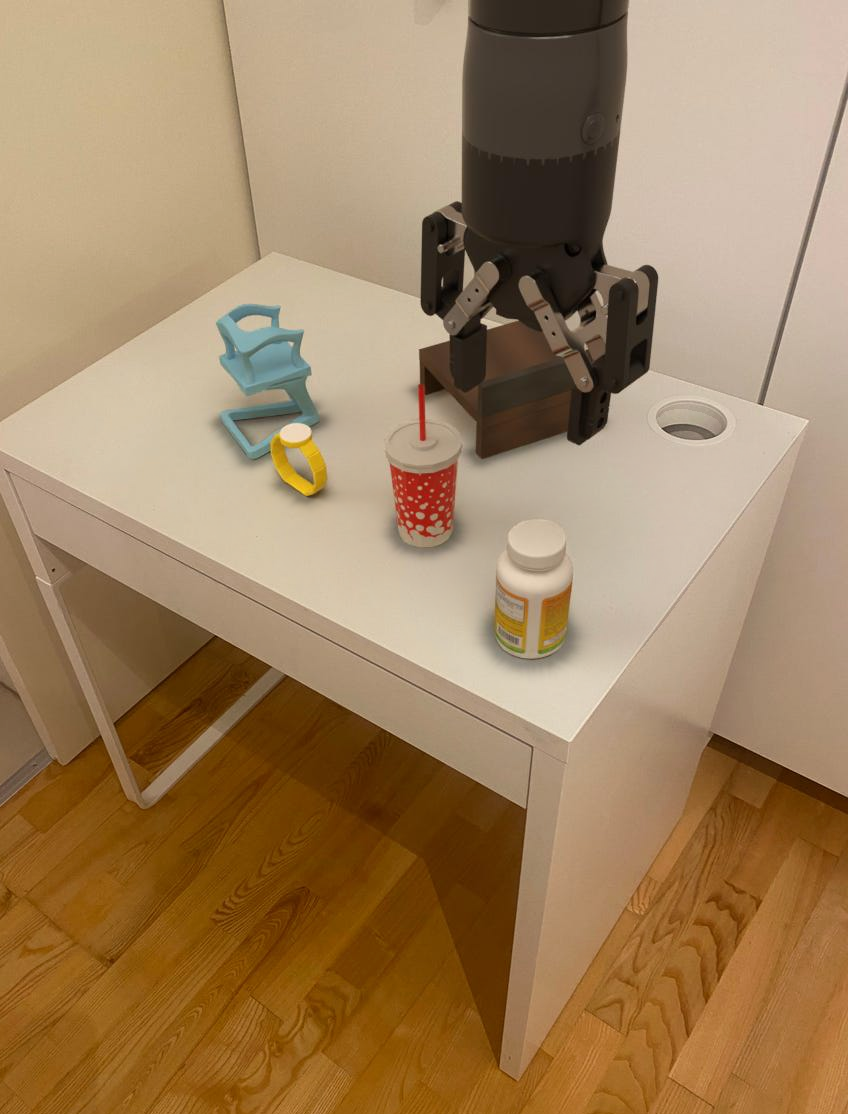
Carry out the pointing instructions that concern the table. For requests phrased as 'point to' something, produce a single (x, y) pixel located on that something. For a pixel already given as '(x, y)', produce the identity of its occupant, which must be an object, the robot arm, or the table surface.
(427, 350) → the shelf
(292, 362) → the chair
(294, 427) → the watch
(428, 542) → the beverage cup
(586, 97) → the robot arm
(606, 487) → the table surface
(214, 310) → the table surface
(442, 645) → the table surface
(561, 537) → the supplement bottle
